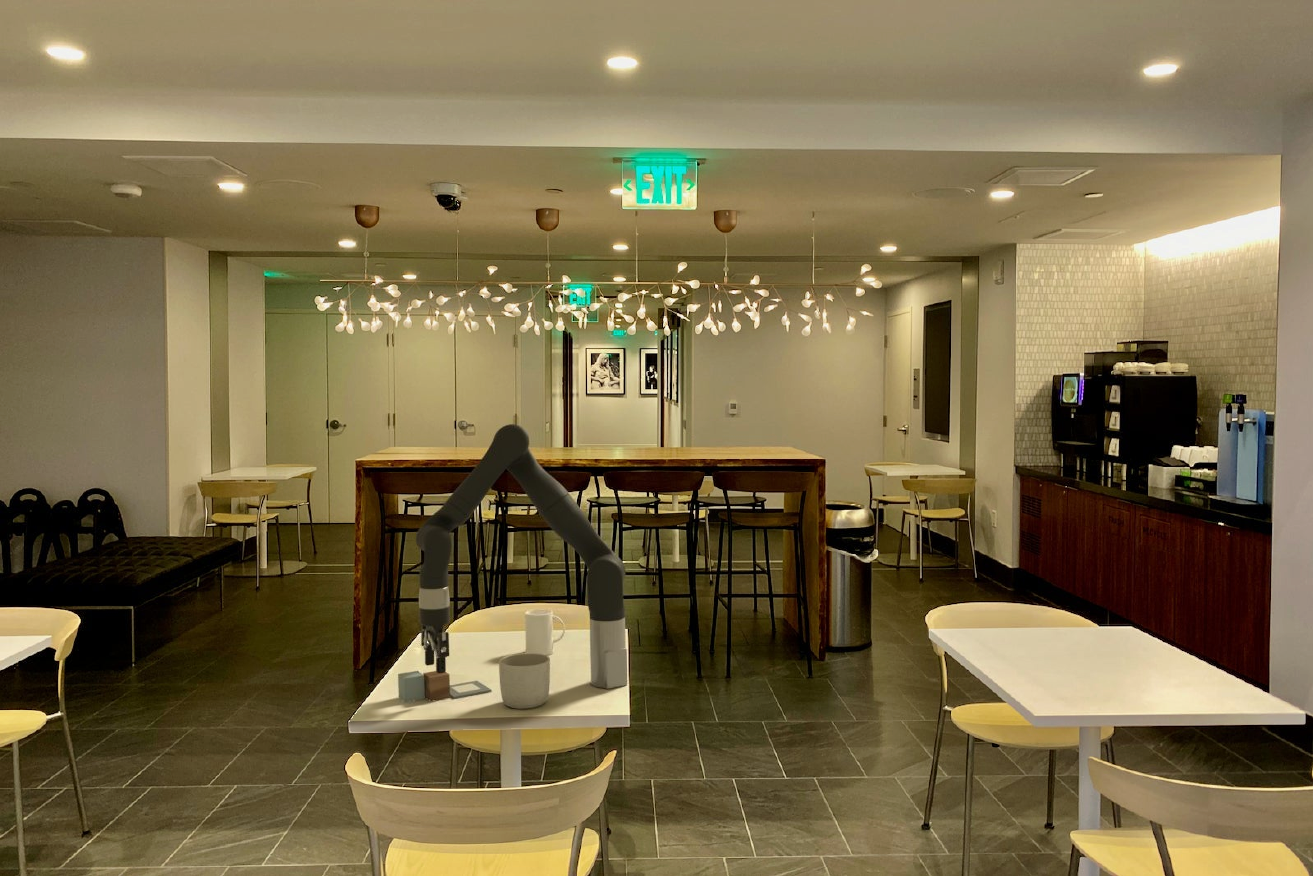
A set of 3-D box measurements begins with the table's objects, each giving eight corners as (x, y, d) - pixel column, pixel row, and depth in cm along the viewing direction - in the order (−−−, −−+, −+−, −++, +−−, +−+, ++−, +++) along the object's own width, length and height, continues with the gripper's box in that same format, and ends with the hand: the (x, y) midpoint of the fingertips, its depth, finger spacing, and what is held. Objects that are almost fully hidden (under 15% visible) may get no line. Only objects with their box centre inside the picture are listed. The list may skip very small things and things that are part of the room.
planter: (489, 704, 232) (488, 660, 231) (530, 693, 240) (529, 650, 240) (519, 715, 223) (518, 669, 222) (561, 703, 231) (560, 659, 231)
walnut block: (449, 698, 237) (449, 674, 237) (430, 701, 235) (429, 677, 235) (443, 693, 242) (442, 669, 241) (423, 696, 239) (423, 673, 239)
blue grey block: (424, 699, 237) (423, 675, 237) (404, 702, 234) (404, 678, 234) (418, 694, 241) (417, 670, 241) (398, 697, 239) (398, 674, 238)
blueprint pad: (491, 691, 242) (491, 689, 242) (454, 698, 236) (453, 696, 236) (476, 682, 250) (476, 680, 250) (440, 689, 245) (440, 686, 245)
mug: (567, 648, 283) (566, 608, 283) (562, 656, 275) (562, 615, 274) (528, 648, 284) (527, 609, 284) (522, 656, 276) (521, 615, 275)
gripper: (458, 608, 234) (459, 673, 234) (439, 598, 246) (440, 660, 246) (428, 611, 230) (429, 678, 230) (410, 601, 242) (411, 664, 242)
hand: (435, 668), depth 238 cm, fingers open, 8 cm apart
